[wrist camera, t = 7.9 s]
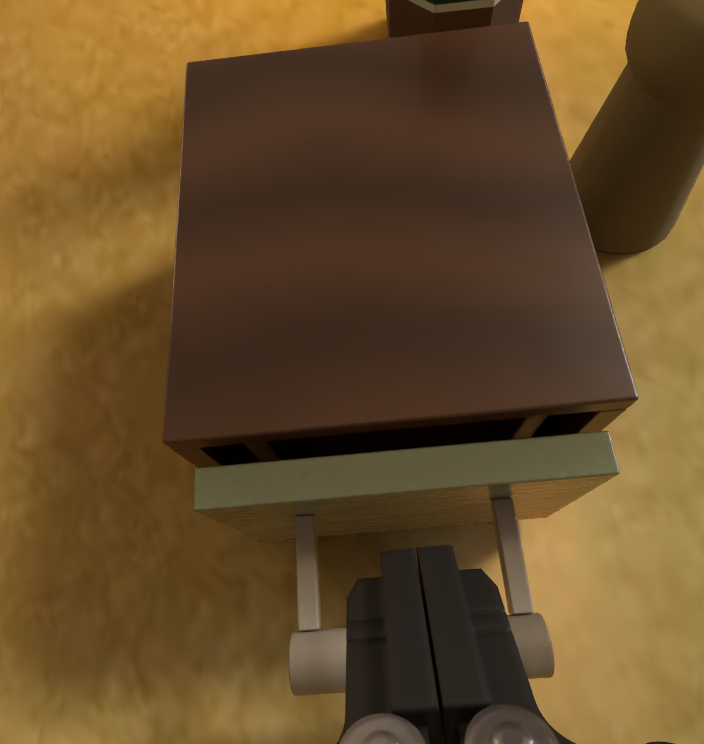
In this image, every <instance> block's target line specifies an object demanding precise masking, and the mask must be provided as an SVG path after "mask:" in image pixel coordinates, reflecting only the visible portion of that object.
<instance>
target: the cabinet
mask: <svg viewBox="0 0 704 744" xmlns="http://www.w3.org/2000/svg"><path fill="white" fill-rule="evenodd" d="M636 400H638V394H637V391H636V387H635V384H634V381H633V377H632V374H631V370H630V367H629V364H628V360H627V357H626V353H625V350H624V346H623V343H622V340H621V336H620V333H619V329H618V326H617V323H616V319H615V316H614V312H613V309H612V305H611V302H610V299H609V295H608V292H607V288H606V285H605V282H604V278H603V275H602V271H601V268H600V265H599V261H598V258H597V254H596V251H595V247H594V244H593V241H592V237H591V234H590V230H589V227H588V224H587V220H586V217H585V213H584V210H583V206H582V203H581V200H580V196H579V193H578V189H577V186H576V183H575V179H574V176H573V172H572V169H571V166H570V162H569V159H568V155H567V152H566V148H565V145H564V142H563V138H562V135H561V131H560V128H559V125H558V121H557V118H556V114H555V111H554V107H553V104H552V101H551V97H550V94H549V90H548V87H547V84H546V80H545V77H544V73H543V70H542V67H541V63H540V60H539V56H538V53H537V49H536V46H535V43H534V39H533V36H532V32H531V29H530V26H529V22H519V23H510V24H502V25H494V26H486V27H477V28H469V29H461V30H453V31H444V32H436V33H428V34H420V35H411V36H403V37H395V38H387V39H378V40H370V41H362V42H353V43H345V44H337V45H329V46H320V47H312V48H304V49H296V50H287V51H279V52H271V53H263V54H254V55H246V56H238V57H230V58H221V59H213V60H205V61H197V62H188V63H187V67H186V83H185V99H184V115H183V131H182V147H181V162H180V178H179V194H178V210H177V226H176V242H175V258H174V274H173V290H172V305H171V321H170V337H169V353H168V369H167V385H166V401H165V417H164V433H163V442H164V444H166V445H167V446H168V447H170V448H171V449H173V450H174V451H175V452H176V453H178V454H179V455H181V456H182V457H184V458H185V459H186V460H188V461H189V462H191V463H192V464H194V465H195V466H196V467H198V468H202V467H213V466H224V465H235V464H246V463H257V462H260V461H259V460H258V459H257V458H256V457H255V456H254V455H253V454H252V453H251V452H250V451H249V450H248V449H247V448H246V447H245V445H244V443H255V442H266V441H277V440H288V439H299V438H310V437H321V436H332V435H342V434H353V433H364V432H375V431H386V430H397V429H408V428H419V427H429V426H440V425H451V424H462V423H473V422H484V421H495V420H506V419H516V418H527V417H538V416H548V417H547V418H546V419H545V420H544V422H543V423H542V424H541V426H540V427H539V428H538V429H537V431H536V432H535V433H534V434H533V436H532V437H531V438H533V437H544V436H556V435H567V434H578V433H589V432H600V431H602V430H603V429H604V428H605V427H606V426H608V425H609V424H610V423H611V422H612V421H613V420H614V419H616V418H617V417H618V416H619V415H620V414H621V413H623V412H624V411H625V410H626V408H628V407H630V406H631V405H632V404H633V403H634V402H635V401H636Z"/></svg>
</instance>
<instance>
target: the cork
mask: <svg viewBox="0 0 704 744" xmlns="http://www.w3.org/2000/svg"><path fill="white" fill-rule="evenodd" d="M625 50H626V55H627V60H628V63H627V65H626V67H625V68H624V70H623V72H622V74H621V75H620V77H619V79H618V80H617V82H616V84H615V85H614V87H613V89H612V90H611V92H610V94H609V95H608V97H607V99H606V101H605V102H604V104H603V106H602V107H601V109H600V111H599V112H598V114H597V116H596V117H595V119H594V121H593V122H592V124H591V126H590V128H589V129H588V131H587V133H586V134H585V136H584V138H583V139H582V141H581V143H580V144H579V146H578V148H577V149H576V151H575V153H574V155H573V156H572V158H571V160H570V161H569V162H570V166H571V169H572V172H573V176H574V179H575V183H576V186H577V189H578V193H579V196H580V200H581V203H582V206H583V210H584V213H585V217H586V220H587V224H588V227H589V230H590V234H591V237H592V241H593V244H594V247H595V249H597V250H601V251H605V252H610V253H634V252H638V251H641V250H645V249H648V248H651V247H653V246H654V245H656V244H657V243H659V242H660V241H662V240H663V239H665V238H666V236H667V235H668V234H669V232H670V231H671V229H672V228H673V226H674V225H675V223H676V221H677V219H678V217H679V215H680V212H681V210H682V208H683V206H684V204H685V202H686V200H687V198H688V196H689V194H690V192H691V190H692V188H693V186H694V184H695V182H696V179H697V177H698V175H699V173H700V171H701V169H702V167H703V165H704V0H639V1H638V3H637V5H636V8H635V10H634V13H633V15H632V18H631V21H630V25H629V29H628V32H627V39H626V47H625Z"/></svg>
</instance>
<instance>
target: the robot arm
mask: <svg viewBox="0 0 704 744" xmlns="http://www.w3.org/2000/svg"><path fill="white" fill-rule="evenodd" d="M380 558H381V572H382V577H374V578H362V579H357V580H356V582H355V584H354V586H353V588H352V590H351V592H350V594H349V596H348V597H347V626H346V642H347V644H346V706H345V724H344V728H343V732H342V734H341V736H340V739H339V741H338V742H337V744H575V743H573V742H571V741H570V740H568V739H566V738H565V737H563V736H562V735H561V734H559V733H558V732H557V731H555V730H554V729H553V728H552V727H551V726H550V725H549V724H548V722H547V721H546V720H545V718H544V717H543V716H542V714H541V712H540V711H539V709H538V707H537V704H536V702H535V699H534V696H533V693H532V690H531V687H530V684H529V681H528V678H527V675H526V672H525V669H524V666H523V663H522V660H521V657H520V654H519V651H518V648H517V645H516V642H515V639H514V636H513V633H512V631H511V626H510V623H509V620H508V617H507V614H506V613H505V609H504V605H503V602H502V599H501V596H500V593H499V590H498V587H497V586H496V584H495V583H494V582H493V581H492V580H491V579H490V578H489V577H488V576H487V575H486V574H485V572H484V571H483V570H482V569H481V568H480V569H468V570H458V567H457V563H456V559H455V555H454V551H453V547H452V545H440V546H428V547H417V560H418V569H417V562H416V556H415V550H414V548H407V549H395V550H383V551H380ZM418 573H419V575H418ZM646 744H674V743H669V742H650V743H646Z"/></svg>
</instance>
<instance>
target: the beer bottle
mask: <svg viewBox="0 0 704 744" xmlns="http://www.w3.org/2000/svg"><path fill="white" fill-rule="evenodd" d="M522 3H523V0H386V13H387V27H388V35H389V38H395V37H403V36H411V35H420V34H428V33H436V32H444V31H453V30H461V29H469V28H477V27H486V26H494V25H502V24H510V23H518V22H519V18H520V13H521V8H522Z"/></svg>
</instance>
